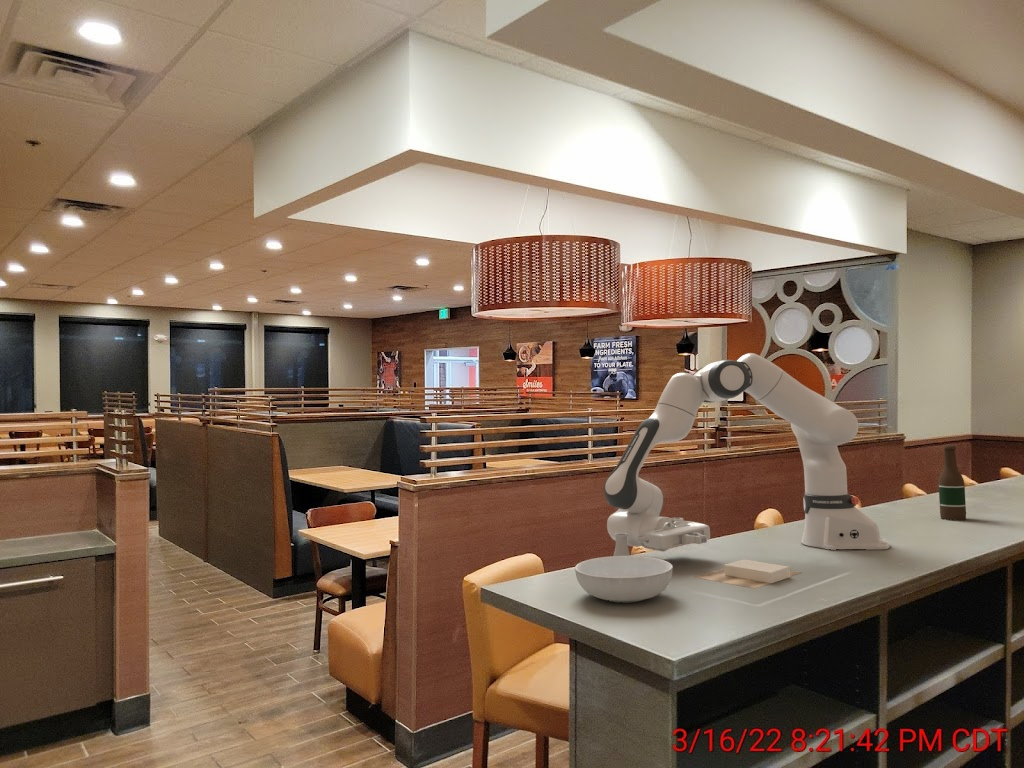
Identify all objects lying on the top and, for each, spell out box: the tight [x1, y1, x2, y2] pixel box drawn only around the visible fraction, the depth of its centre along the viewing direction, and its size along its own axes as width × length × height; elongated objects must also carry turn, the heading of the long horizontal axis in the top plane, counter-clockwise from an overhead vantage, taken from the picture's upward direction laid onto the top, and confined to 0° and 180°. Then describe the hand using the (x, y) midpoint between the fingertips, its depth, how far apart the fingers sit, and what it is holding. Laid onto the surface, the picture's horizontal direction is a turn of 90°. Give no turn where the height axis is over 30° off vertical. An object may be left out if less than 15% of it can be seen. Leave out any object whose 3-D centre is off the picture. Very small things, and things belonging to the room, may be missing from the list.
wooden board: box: [694, 567, 802, 589], centre depth 173 cm, size 16×20×1 cm
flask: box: [613, 533, 632, 556], centre depth 180 cm, size 7×7×10 cm
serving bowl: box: [574, 555, 674, 604], centre depth 159 cm, size 21×21×7 cm
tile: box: [723, 559, 791, 584], centre depth 172 cm, size 2×8×12 cm
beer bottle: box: [938, 444, 967, 522], centre depth 243 cm, size 8×8×24 cm
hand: (703, 539), depth 183 cm, fingers closed
